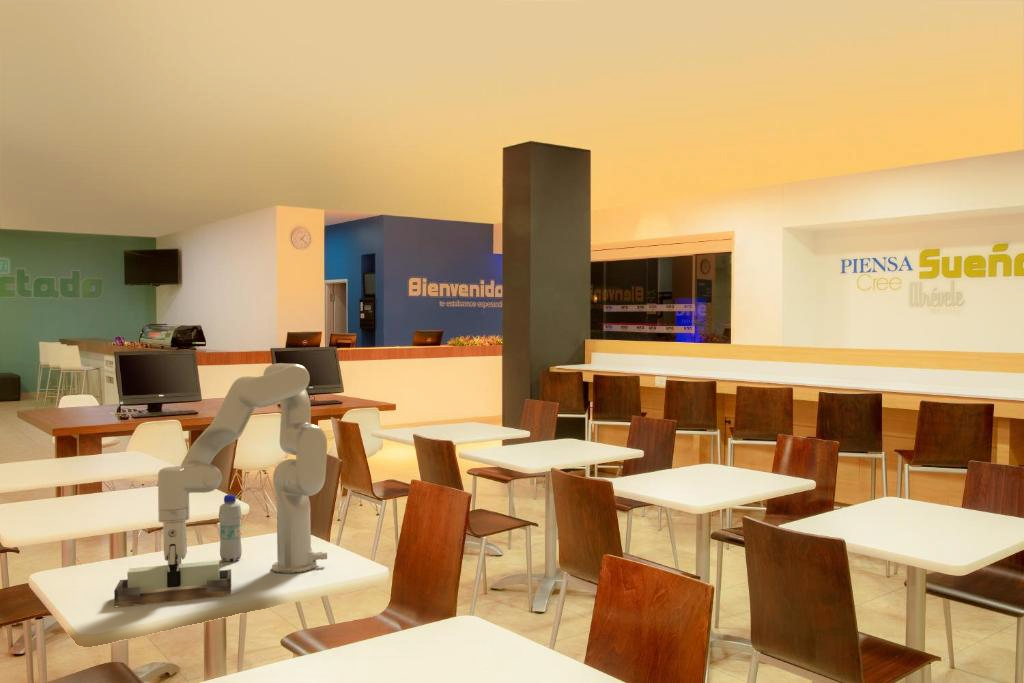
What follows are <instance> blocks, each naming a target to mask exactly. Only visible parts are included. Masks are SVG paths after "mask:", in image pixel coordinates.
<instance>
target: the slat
mask: <svg viewBox="0 0 1024 683" xmlns="http://www.w3.org/2000/svg"><path fill="white" fill-rule="evenodd" d="M219 570H220V560H211V561H210V560H208V561H201V562H200V561H199V562H198V561H197V562H188V563H186V562H185V563H181V564H179V571H181V585H180V586H179V587H184V586H195V585H205V584H207V580H217V579H220V578H219ZM167 572H168V564H165V565H163V564H162V565H154V566H144V567H131V568H129V569H128V571H127V574H126V576H127V579H128V588H136V587H140V591H143V590H154V589H164V588H168V587H167ZM169 588H174V587H169Z"/></svg>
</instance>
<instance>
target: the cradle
mask: <svg viewBox="0 0 1024 683" xmlns="http://www.w3.org/2000/svg"><path fill="white" fill-rule="evenodd" d="M219 578H220V579H217V580H207V584H205V585H195V586H184V587H174V588H164V589H154V590H143V591H140V587H136V588H128V578H127V579H120V580H119V581H118V583H117V585H116V587H115V589H114V590H113V591H114V592H113V593H114V599H113V600H114V607H115V606H121V607H127V606H126V605H130V606H135V605H134V604H140V605H150V604H156V603H157V604H158V603H165V602H166V603H167V602H177V601H186V600H196V599H206V598H205V597H207V598H213V597H214V596H216V597H224V596H223V595H226V596H231V595H230V594H231V593H232V569H231V568H229V569H221V570H220V569H219ZM214 598H215V597H214ZM146 603H148V604H146Z"/></svg>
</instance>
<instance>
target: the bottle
mask: <svg viewBox="0 0 1024 683" xmlns="http://www.w3.org/2000/svg"><path fill="white" fill-rule="evenodd" d="M236 500H237V498H236V495H235V494H231V493H230V494H226V495H224V497H223V503H222V504H221V505H220V506H219V510H218V522H219V532H220V533H219V534H220V535H219V536H220V538H219V539H220V542H219V556H220V559H221V561H222V562H227V563H229V562H228V561H230V562H231V559H232V562H236V561H237V559H239V560H240V559H241V557H242V554H243V552H242V551H243V549H242V534H241V533H242V532H241V530H242V529H241V526H242V524H241V521H242V517H243V516H242V515H243V514H242V507H241V504H240V503H238V502H236Z"/></svg>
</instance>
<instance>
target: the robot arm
mask: <svg viewBox="0 0 1024 683" xmlns="http://www.w3.org/2000/svg"><path fill="white" fill-rule="evenodd" d="M310 379H311V377H310V373H309V371H308V369H307V368H306V367H305V366H304V365H301V364H298V363H283V362H279V363H272V364H270V365H268V366H267V367H266V368H265V369H264V372H263V374H262V375H261V376H241V377H239V378H237V379H236V380H234V381H233V383H232V384H231V386H230V387H229V390H228V391H227V394H226V395H225V397H224V399H223V401H222V403H221V405H220V408H219V409H218V411H217V413H216V415H215V416H214V418H213V420H212V422H210V425H208V426H207V427H206V429H204V431H203V432H202V433H201V434H200V435H199V436H198V437H197V439H196V440H195V441H193V443H192V444H191V446H190V448H189V449H188V451H187V453H186V454H185V456H184V458H183V459H182V462H181V464H180V466H176V465H175V466H167V467H163V468H160V469H159V471H158V474H157V496H158V497H157V498H158V500H157V503H158V508H157V510H158V512H157V513H158V522H159V523H162V526H163V527H162V529H163V533H162V534H163V537H162V538H163V554H164V556H163V557H164V560H165V561H166V562H167V565H168V572H167V587H168V588H169V587H179V586H180V585H181V571H179V564H182V561H183V560H185V559H186V556H187V553H188V547H187V546H188V544H187V540H188V539H187V524H186V523H187V521H189V520H190V494H191V493H192V494H193V493H195V494H197V493H199V494H200V493H202V494H203V493H206V494H207V493H211V492H213V491H215V490H217V488H219V487H220V485H221V483H222V480H223V474H222V471H221V470H220V469H219V468H218V467H217V466H215V465H213V464H211V463H212V461H214V458H215V457H216V455H217V454H218V453H219V452H220V451H221V450H222V449H223V448H224V447H226V446H228V445H229V444H232V443H233V442H235V441H237V440H238V439H239V438H240V437H241V436H242V435H243V433H244V432H245V431H244V430H245V429H246V427H247V425H248V423H249V421H250V419H251V417H252V415H253V413H254V411H255V410H256V408H266V407H268V406H271V405H275V404H277V403H279V405H280V428H279V446H280V448H281V450H282V451H283V452H284V453H285V454H288V455H292V456H295V458H294V459H293V458H288V459H285V460H282V461H281V462H279V463H278V464H277V465H276V466H275V468H274V471H273V474H272V475H273V476H272V481H273V488H274V492H275V499H276V500H275V501H276V502H275V503H276V544H277V546H276V550H277V551H276V552H277V553H276V554H277V555H276V556H277V557H276V558H277V561H275V562H274V563H272V565H271V569H272V571H274V572H275V571H276V572H275V573H279V572H281V573H280V574H294V573H295V572H297V573H303V572H307V570H308V571H310V570H313V569H314V568H316V567H317V560H318V561H320V560H322V561H323V560H327V559H328V553H327V552H323V551H318V552H315V551H313V549H312V545H311V544H312V542H311V541H312V537H311V536H312V535H311V534H312V533H311V528H312V527H311V500H310V497H312V496H314V495H317V494H318V493H319V492H320V491H321V490H322V488H323V487H324V485H325V482H326V475H327V458H328V457H327V456H328V440H327V435H326V433H325V431H324V430H323V428H321V427H320V426H318V425H316V424H313V423H312V422H311V420H312V416H311V414H312V411H311V409H312V408H311V399H310V396H309V394H308V391H307V388H308V386H309V384H310V381H311V380H310ZM302 571H303V572H302ZM295 574H296V573H295Z"/></svg>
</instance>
